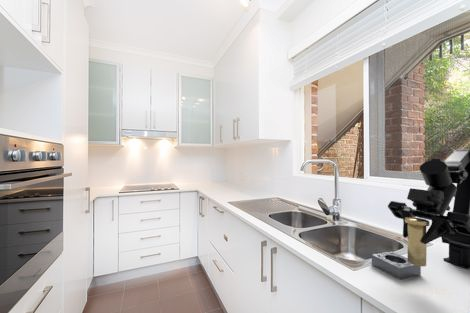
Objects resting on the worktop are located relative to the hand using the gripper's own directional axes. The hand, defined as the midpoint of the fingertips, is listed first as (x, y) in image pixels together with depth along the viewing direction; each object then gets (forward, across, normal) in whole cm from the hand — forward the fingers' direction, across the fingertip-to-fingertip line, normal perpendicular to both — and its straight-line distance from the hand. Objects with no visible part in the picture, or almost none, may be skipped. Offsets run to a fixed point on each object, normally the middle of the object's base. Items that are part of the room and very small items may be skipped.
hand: (413, 239), depth 58 cm
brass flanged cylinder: (+4, 0, +6) cm, 7 cm away
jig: (+6, -8, +13) cm, 17 cm away
